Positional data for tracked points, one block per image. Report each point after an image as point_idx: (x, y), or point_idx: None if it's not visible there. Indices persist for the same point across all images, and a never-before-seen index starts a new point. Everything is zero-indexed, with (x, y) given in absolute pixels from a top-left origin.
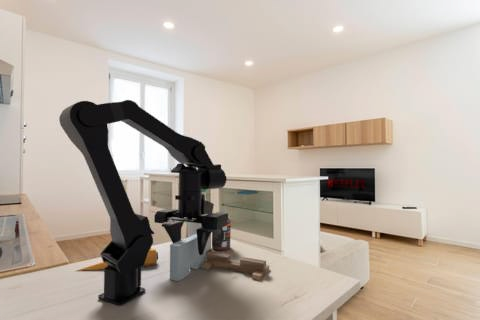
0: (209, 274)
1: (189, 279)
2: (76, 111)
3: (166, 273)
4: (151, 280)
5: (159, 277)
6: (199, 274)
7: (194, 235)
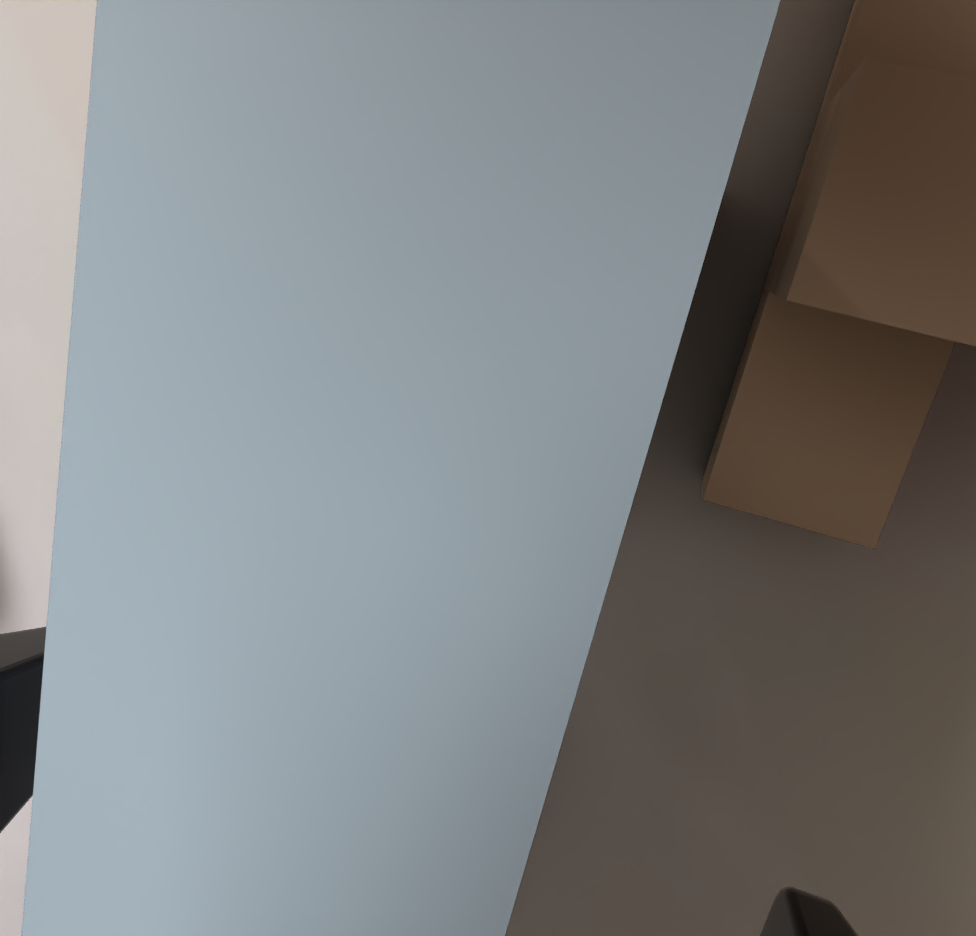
0: (934, 711)
1: (637, 898)
2: None
3: None
4: None
5: None
6: (742, 724)
7: (142, 618)
